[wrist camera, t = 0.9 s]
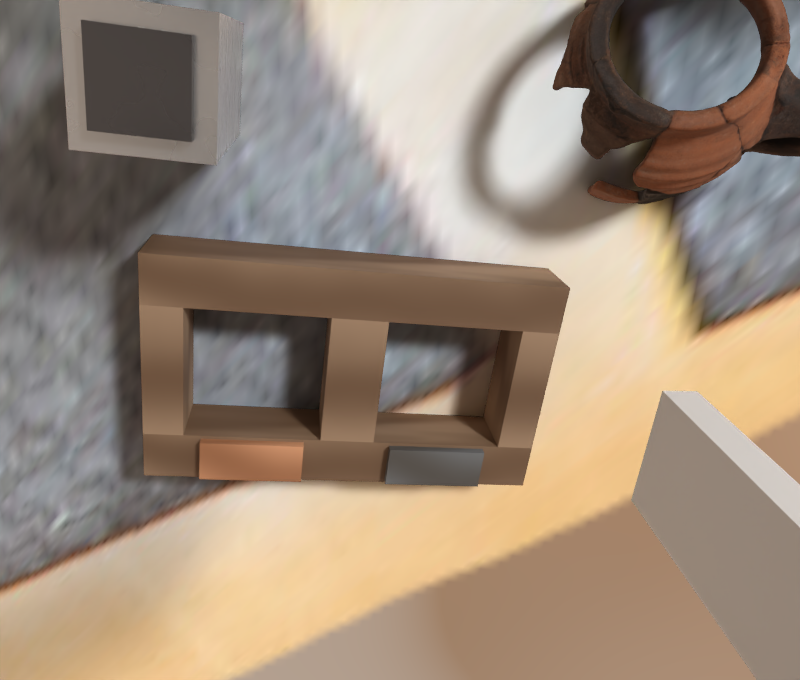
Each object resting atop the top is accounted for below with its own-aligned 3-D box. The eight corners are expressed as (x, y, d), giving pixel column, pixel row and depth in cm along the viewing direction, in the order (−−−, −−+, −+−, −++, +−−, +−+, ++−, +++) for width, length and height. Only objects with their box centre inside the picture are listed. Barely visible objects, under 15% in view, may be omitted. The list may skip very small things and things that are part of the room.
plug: (130, 6, 26) (52, -13, 18) (243, 23, 27) (217, 11, 19) (133, 121, 28) (63, 152, 20) (240, 134, 29) (214, 167, 20)
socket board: (152, 234, 30) (135, 255, 27) (548, 268, 33) (573, 291, 30) (156, 441, 34) (142, 480, 31) (506, 453, 37) (525, 489, 34)
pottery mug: (523, 207, 32) (552, 142, 24) (550, 23, 33) (586, -99, 25) (775, 240, 31) (894, 185, 23) (797, 51, 32) (919, -67, 24)
